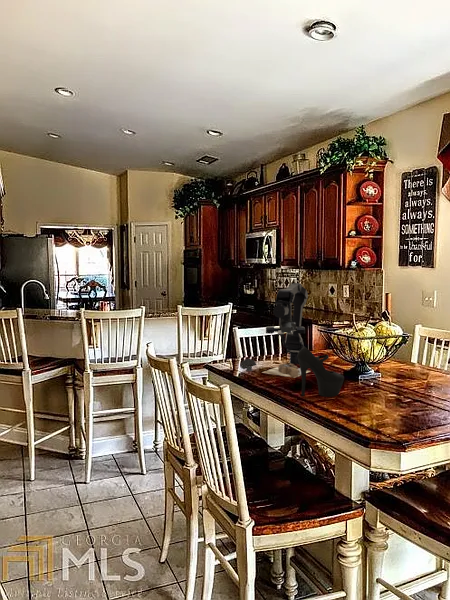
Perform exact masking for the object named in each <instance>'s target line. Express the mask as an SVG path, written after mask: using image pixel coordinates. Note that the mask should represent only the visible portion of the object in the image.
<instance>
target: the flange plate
mask: <svg viewBox="0 0 450 600" xmlns="http://www.w3.org/2000/svg"><path fill="white" fill-rule="evenodd" d="M283 365H290V367H285V366H283ZM277 367H278V371H280V372H281V373H283V374H289V375H291V376H292V377H291V378H294V377H296V378H298V377H299V376H298V370H297V369H298V366H297V365H296V364H291V363H283V364H282V363H281V364H278V366H277Z"/></svg>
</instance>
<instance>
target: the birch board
mask: <svg viewBox="0 0 450 600" xmlns="http://www.w3.org/2000/svg"><path fill="white" fill-rule="evenodd" d="M297 370H298V368H297ZM311 372H312V370H307V371H306V374H308V373H311ZM261 373H263V374H268V375H275V376H281V377H289V378H294V379H295V378H297V377H292V376H291V375H289V374H283V373H281V372H280V371H278V366H277V367H273V368H270V369H268V370H265V371H262V372H261ZM300 376H301V375H298V377H300Z"/></svg>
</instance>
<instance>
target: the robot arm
mask: <svg viewBox="0 0 450 600" xmlns="http://www.w3.org/2000/svg"><path fill="white" fill-rule="evenodd" d="M308 294H309V293H308V290H307V289H306V288H305V287H304V286H303V285H302V283H297V282H296V283H291V284H290V285H289V286H288V287H286V288H281V289H279V290H278V291H277V293H276V297H275V301H274V304H275V305H276V306H275V307H274V308H273V311H272V312H273V315H274V317H276V318H278V319H279V324H278V325H279V327H275V326H274V325H272V326H271V325H270V326H269V325H268V326H266V327H265V333H266V334H274V333H275V332H276V333H277V336H280V338H281V341H282V344H283V348H285V351H286V354H289V364H293V365H299V361H298V358H297V355H298V353H299V351H300V350H301V349H302V348H303V347H305V345H304V341H303V338H302V335H303V334H306V328H305V327H304V326H302V318H303V308H304V307H305V305H306V304H307V302H308V301H307V300H308V298H309V295H308ZM292 304H293V312H292ZM292 313H293V314H292ZM285 333H286V334H285ZM301 334H302V335H301Z"/></svg>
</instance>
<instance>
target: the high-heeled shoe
mask: <svg viewBox="0 0 450 600" xmlns="http://www.w3.org/2000/svg"><path fill="white" fill-rule="evenodd" d="M297 358H298V361H299V364H298V365H299V368H300V370H301V392H300V393H301V394H300V395H301V396H305V395H306V384H307V383H306V382H307V381H306V380H307V373H306V371H308V370H309V369H310V371H311V372H313V375H314V376H315V378H316V383H317V388H318V395H319V396H320V397H324V398H328V397H330V398H332V397H336V396H338V395H339V394H340V391H341V389H342V386H343V384H344V381H345V376H344V375H343V374H340V373H338V372H335V371H333V370H332V371H330V370H329V371H328V370H327V369H326V368H325V366H324V364H323V363H324V362H325V361H326V360H328V359H329V354H322V355H317V356H315V354H314V353H312V351H310V349H309V348H307V347H306V346H304V347H303V348H302V349H301V350H300V351H299V353H298V355H297Z"/></svg>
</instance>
